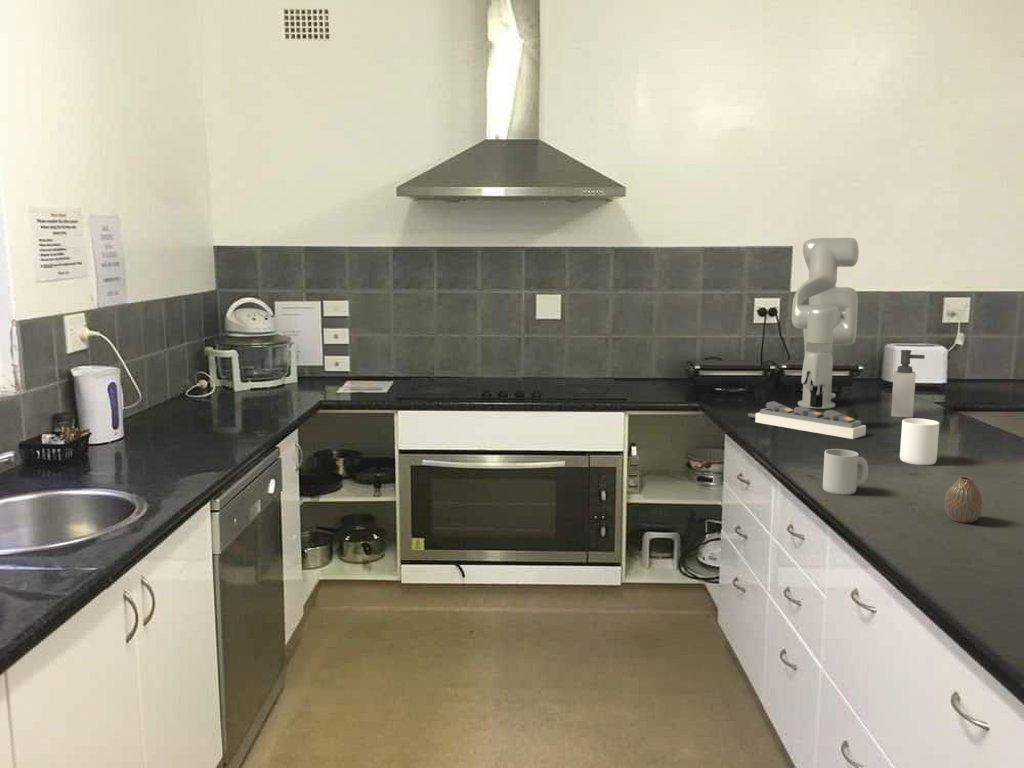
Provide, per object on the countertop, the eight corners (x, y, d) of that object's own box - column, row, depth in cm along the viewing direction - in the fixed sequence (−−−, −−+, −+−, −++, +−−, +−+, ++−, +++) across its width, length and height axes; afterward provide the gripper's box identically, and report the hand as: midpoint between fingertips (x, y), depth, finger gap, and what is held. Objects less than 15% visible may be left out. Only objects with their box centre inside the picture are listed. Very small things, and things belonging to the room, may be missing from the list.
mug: (924, 454, 215) (927, 415, 213) (941, 466, 203) (944, 425, 201) (890, 454, 216) (893, 415, 214) (906, 465, 204) (908, 424, 202)
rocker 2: (800, 410, 252) (801, 405, 252) (823, 418, 247) (824, 413, 246) (793, 412, 250) (794, 407, 249) (816, 420, 244) (817, 414, 244)
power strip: (755, 416, 268) (755, 404, 267) (865, 435, 239) (866, 421, 238) (742, 419, 263) (742, 407, 262) (852, 439, 234) (853, 424, 233)
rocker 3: (830, 414, 245) (831, 409, 244) (853, 424, 239) (855, 418, 239) (823, 416, 242) (824, 410, 242) (847, 426, 237) (848, 420, 236)
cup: (817, 486, 186) (819, 449, 185) (860, 485, 186) (862, 448, 185) (829, 495, 179) (831, 456, 178) (874, 494, 179) (876, 456, 178)
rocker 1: (772, 405, 260) (773, 400, 259) (793, 414, 254) (795, 409, 254) (765, 407, 258) (766, 402, 257) (786, 416, 252) (788, 411, 251)
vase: (945, 523, 160) (949, 481, 158) (940, 513, 166) (944, 472, 165) (985, 527, 157) (988, 484, 156) (978, 516, 164) (982, 475, 162)
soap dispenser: (920, 418, 263) (925, 352, 260) (891, 416, 267) (895, 351, 263) (919, 414, 269) (924, 350, 265) (891, 412, 272) (895, 349, 269)
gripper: (820, 344, 251) (817, 401, 254) (794, 349, 241) (791, 408, 245) (843, 346, 245) (839, 405, 248) (817, 351, 236) (814, 412, 239)
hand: (816, 406), depth 246 cm, fingers closed
